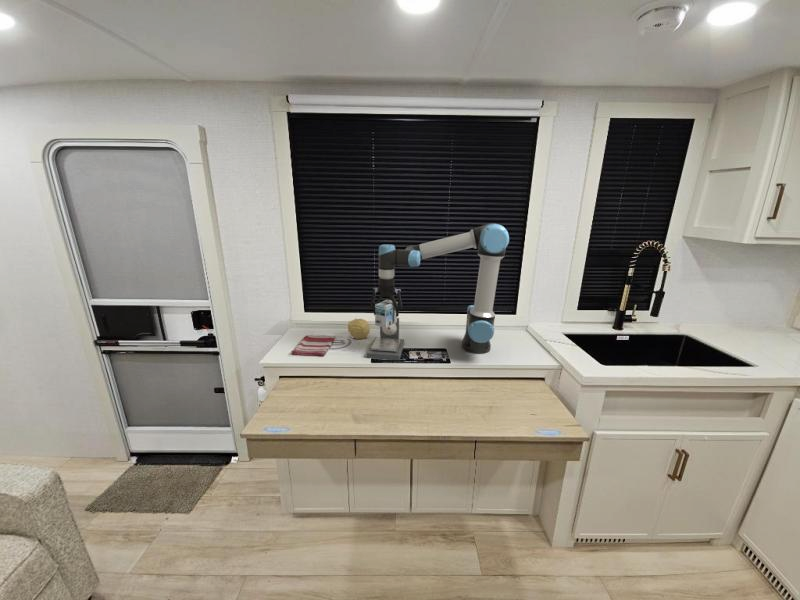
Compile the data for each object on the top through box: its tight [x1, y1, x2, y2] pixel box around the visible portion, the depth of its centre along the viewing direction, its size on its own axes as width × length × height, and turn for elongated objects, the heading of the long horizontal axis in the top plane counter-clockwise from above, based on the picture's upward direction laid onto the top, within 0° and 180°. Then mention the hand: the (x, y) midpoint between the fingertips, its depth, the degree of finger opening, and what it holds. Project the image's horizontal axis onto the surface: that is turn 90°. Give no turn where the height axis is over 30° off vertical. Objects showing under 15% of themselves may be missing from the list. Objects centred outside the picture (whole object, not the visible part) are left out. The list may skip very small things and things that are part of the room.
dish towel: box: [290, 334, 337, 358], centre depth 171 cm, size 17×23×3 cm
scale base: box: [366, 317, 405, 361], centre depth 166 cm, size 16×20×14 cm
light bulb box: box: [374, 299, 397, 328], centre depth 161 cm, size 11×7×11 cm, turn 149°
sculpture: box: [347, 318, 371, 340], centre depth 183 cm, size 12×12×11 cm
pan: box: [371, 337, 402, 352], centre depth 166 cm, size 13×13×2 cm
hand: (386, 321), depth 162 cm, fingers closed on light bulb box, 8 cm apart
